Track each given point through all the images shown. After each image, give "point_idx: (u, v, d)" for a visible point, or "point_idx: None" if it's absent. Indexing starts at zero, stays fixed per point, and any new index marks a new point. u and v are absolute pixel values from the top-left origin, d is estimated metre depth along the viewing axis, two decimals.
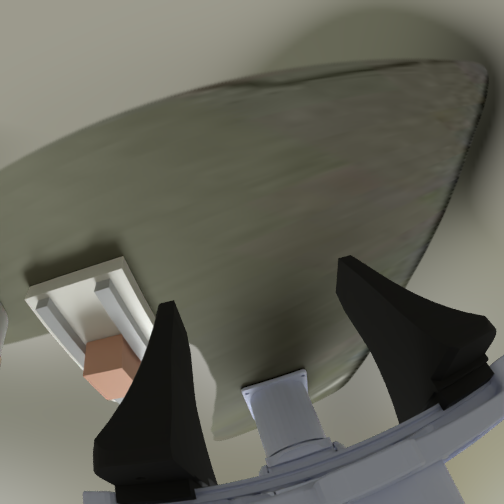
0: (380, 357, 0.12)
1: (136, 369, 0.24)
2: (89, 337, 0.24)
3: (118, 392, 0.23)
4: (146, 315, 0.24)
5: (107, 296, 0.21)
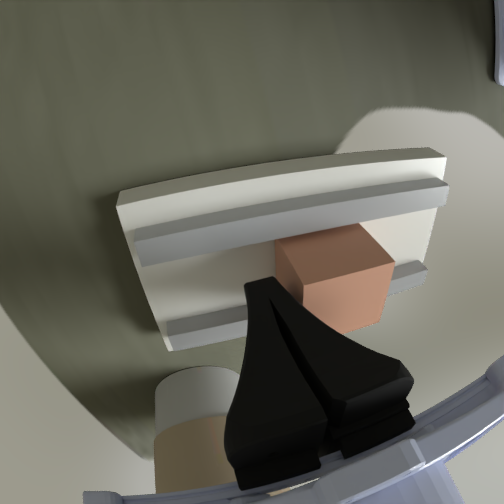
0: None
1: (348, 245, 0.13)
2: None
3: (369, 303, 0.13)
4: (238, 183, 0.13)
5: (154, 248, 0.12)
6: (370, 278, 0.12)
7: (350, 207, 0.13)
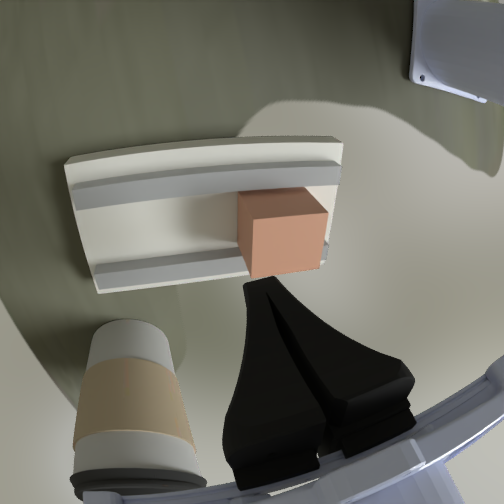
0: None
1: (293, 200, 0.17)
2: (172, 242, 0.19)
3: (308, 247, 0.17)
4: (150, 153, 0.16)
5: (85, 196, 0.15)
6: (307, 223, 0.16)
7: (238, 176, 0.17)
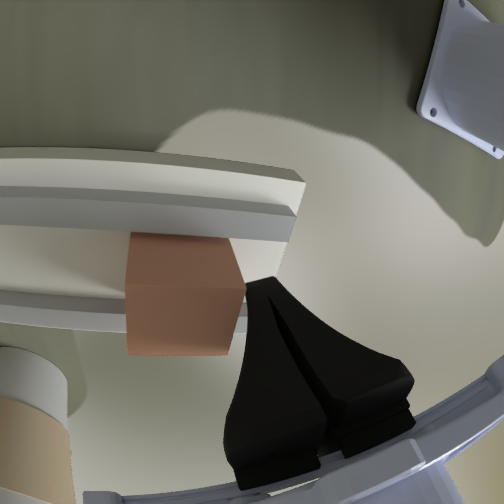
0: None
1: (201, 258, 0.12)
2: (57, 280, 0.13)
3: (212, 329, 0.12)
4: (31, 161, 0.10)
5: None
6: (211, 299, 0.11)
7: (137, 211, 0.11)
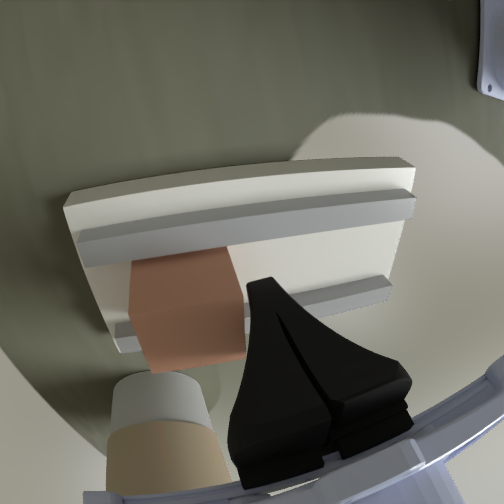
0: None
1: (198, 273, 0.12)
2: None
3: (222, 338, 0.12)
4: (181, 188, 0.12)
5: (95, 250, 0.11)
6: (212, 312, 0.11)
7: (300, 217, 0.13)
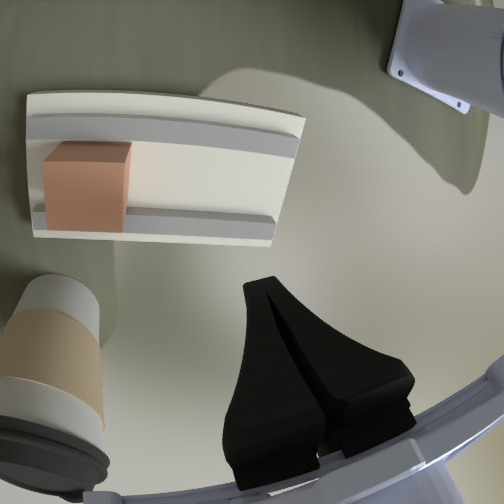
0: None
1: (102, 151, 0.14)
2: None
3: (104, 203, 0.14)
4: (108, 94, 0.14)
5: (38, 126, 0.13)
6: (99, 173, 0.13)
7: (188, 129, 0.15)
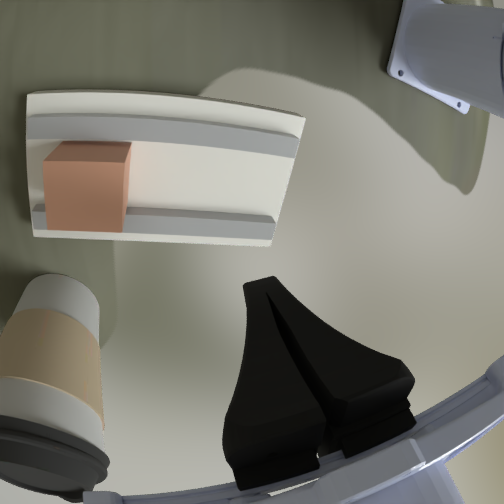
0: None
1: (102, 151, 0.14)
2: None
3: (104, 202, 0.14)
4: (108, 94, 0.14)
5: (38, 126, 0.13)
6: (99, 172, 0.13)
7: (188, 128, 0.15)
